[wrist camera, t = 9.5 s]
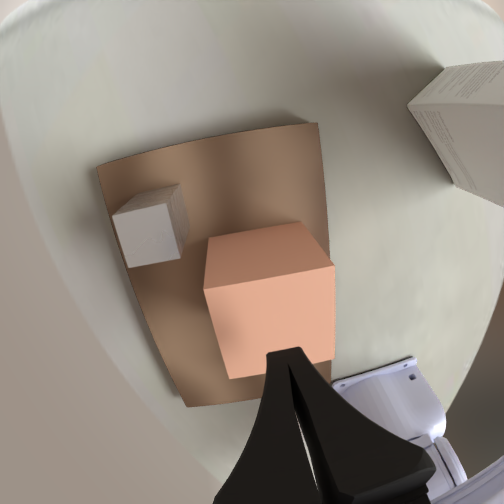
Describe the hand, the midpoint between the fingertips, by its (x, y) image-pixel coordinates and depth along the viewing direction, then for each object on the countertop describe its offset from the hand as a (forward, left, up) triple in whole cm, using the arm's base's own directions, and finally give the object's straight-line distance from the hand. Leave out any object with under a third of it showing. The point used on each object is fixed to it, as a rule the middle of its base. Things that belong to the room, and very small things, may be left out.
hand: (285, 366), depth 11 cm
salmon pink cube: (0, 0, -8) cm, 8 cm away
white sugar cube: (+5, -5, -8) cm, 11 cm away
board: (+2, +2, -10) cm, 10 cm away
